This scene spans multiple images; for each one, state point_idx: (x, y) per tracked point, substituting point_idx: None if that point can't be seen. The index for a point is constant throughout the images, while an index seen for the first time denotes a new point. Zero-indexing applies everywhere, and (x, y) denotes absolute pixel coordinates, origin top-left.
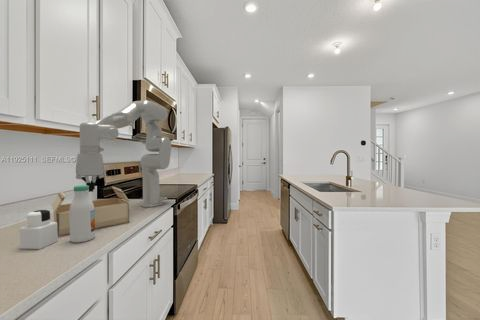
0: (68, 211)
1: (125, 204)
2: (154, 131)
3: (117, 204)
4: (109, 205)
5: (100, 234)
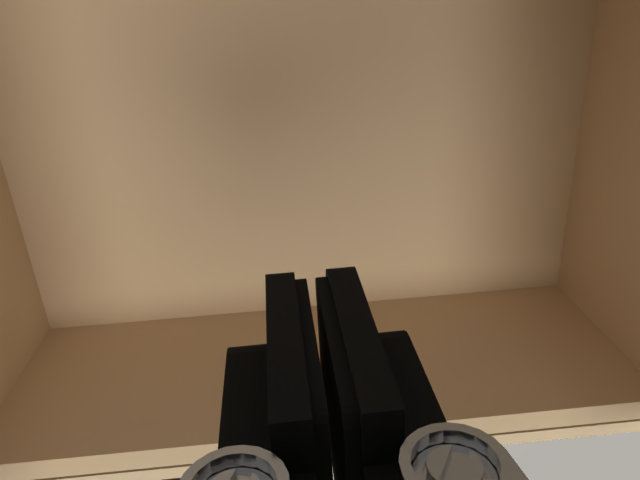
0: (56, 468)
1: (631, 429)
2: None
3: (560, 419)
4: (475, 422)
5: None
